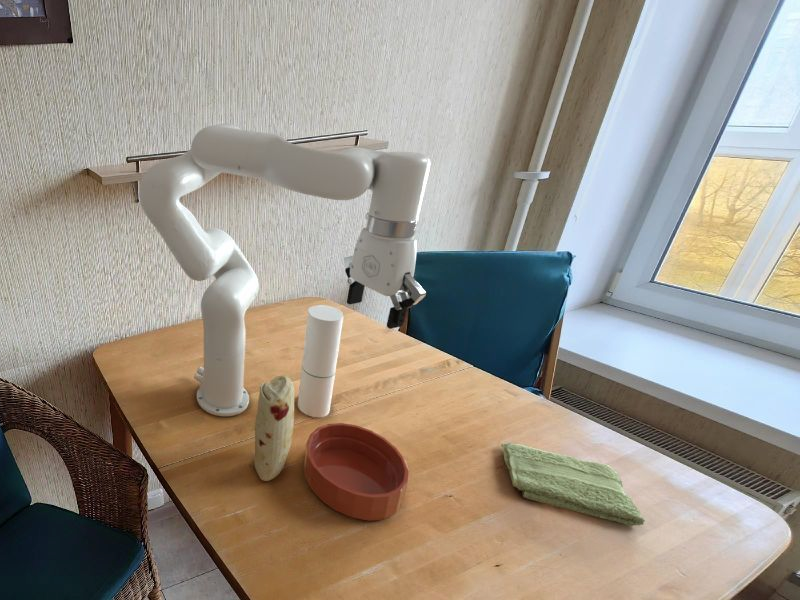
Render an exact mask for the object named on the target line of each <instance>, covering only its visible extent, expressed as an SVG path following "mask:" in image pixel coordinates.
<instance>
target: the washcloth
mask: <svg viewBox="0 0 800 600" xmlns="http://www.w3.org/2000/svg"><path fill="white" fill-rule="evenodd" d="M501 447H502V451H503V459H504V463H505V465H506V467H507V469H508V474H509V476H510V479H511V483H512V487H514V488H517V489H518V491H521V494H522V497H523V498H525V499H528V500H530V501H536V502H538V503H539V502H540V503H543V504H547V505H549V506H552V507H558V508H562V509H566V510H569V511H573V512H578V513H579V514H584V515H588V516H593V517H596V518H599V519H606V520H608V521H611V522H615V523H619V524H624V525H627V526H631V527H634V526H637V527H638V526H641V525H644V524H645V522H646V520H645V518H644V516H643V514H642V513H641V512H640V510H639V509H638V508H637V506H636V505H635V503H634V501H633V499H632V498H631V497H630V495H627V493H626V491H625V490H624V488H623V481H622V480H621V476H620V475H619V473H618V472H617V471H616V470H615V469H614V468H613V467H612V466H611V465H608V464H606V463H601V462H597V461H590V460H589V461H588V460H585V459H584V460H583V459H580V458H576V457H574V456H570V455H564V454H561V453H556V452H552V451H546V450H542V449H539V448H535V447H531V446H528V445H525V444H521V443H511V442H510V443H509V442H508V443H507V442H506V443H505V442H504V443H501Z"/></svg>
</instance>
